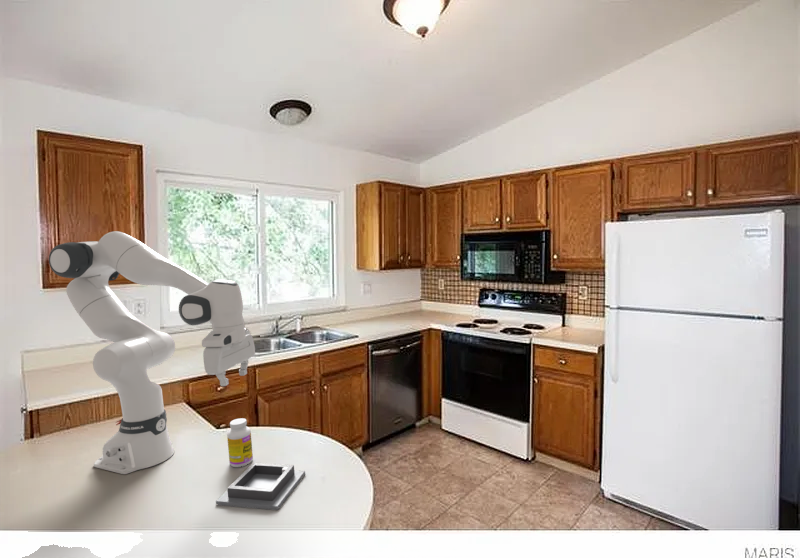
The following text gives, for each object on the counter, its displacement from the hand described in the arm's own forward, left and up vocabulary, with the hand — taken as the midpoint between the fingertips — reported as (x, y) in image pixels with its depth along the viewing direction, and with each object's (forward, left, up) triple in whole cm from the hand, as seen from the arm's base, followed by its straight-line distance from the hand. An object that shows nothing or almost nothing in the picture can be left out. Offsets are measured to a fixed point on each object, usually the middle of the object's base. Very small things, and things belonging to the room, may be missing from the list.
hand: (234, 380), depth 124 cm
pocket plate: (+14, -12, -26) cm, 32 cm away
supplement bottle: (0, 0, -26) cm, 26 cm away
